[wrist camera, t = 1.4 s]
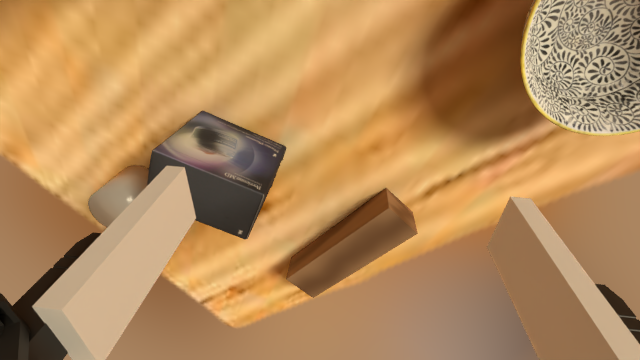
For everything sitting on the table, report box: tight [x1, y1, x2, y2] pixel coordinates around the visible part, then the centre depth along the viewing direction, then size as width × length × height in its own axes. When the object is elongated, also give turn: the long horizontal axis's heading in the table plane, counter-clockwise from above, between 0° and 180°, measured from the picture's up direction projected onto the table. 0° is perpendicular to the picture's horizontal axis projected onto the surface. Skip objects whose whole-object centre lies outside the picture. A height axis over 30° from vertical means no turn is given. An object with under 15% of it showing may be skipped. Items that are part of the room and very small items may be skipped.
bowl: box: [520, 0, 640, 136], centre depth 24 cm, size 16×16×8 cm
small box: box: [147, 111, 286, 239], centre depth 34 cm, size 11×6×10 cm, turn 67°
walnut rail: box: [286, 188, 417, 298], centre depth 42 cm, size 5×18×4 cm, turn 137°
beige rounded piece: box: [88, 165, 149, 228], centre depth 40 cm, size 6×6×6 cm
